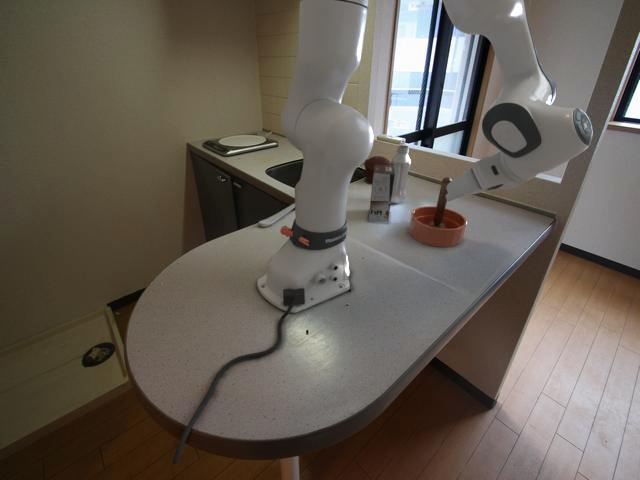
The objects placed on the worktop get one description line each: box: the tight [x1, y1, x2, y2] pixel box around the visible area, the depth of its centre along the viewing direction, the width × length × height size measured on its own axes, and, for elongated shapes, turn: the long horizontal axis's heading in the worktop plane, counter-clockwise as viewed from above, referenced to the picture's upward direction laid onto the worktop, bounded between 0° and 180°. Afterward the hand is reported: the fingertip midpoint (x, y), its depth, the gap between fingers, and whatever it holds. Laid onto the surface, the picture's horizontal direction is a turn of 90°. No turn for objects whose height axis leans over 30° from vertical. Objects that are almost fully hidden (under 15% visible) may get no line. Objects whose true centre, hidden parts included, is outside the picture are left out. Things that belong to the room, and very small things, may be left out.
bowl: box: [408, 205, 468, 248], centre depth 93 cm, size 15×15×6 cm
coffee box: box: [368, 165, 395, 223], centre depth 100 cm, size 9×6×16 cm
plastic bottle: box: [390, 144, 412, 205], centre depth 110 cm, size 6×7×20 cm
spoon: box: [258, 202, 295, 228], centre depth 109 cm, size 35×8×3 cm, turn 144°
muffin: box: [363, 155, 392, 184], centre depth 132 cm, size 12×11×10 cm
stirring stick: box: [429, 176, 452, 229], centre depth 89 cm, size 4×4×17 cm
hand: (460, 194), depth 83 cm, fingers open, 8 cm apart
